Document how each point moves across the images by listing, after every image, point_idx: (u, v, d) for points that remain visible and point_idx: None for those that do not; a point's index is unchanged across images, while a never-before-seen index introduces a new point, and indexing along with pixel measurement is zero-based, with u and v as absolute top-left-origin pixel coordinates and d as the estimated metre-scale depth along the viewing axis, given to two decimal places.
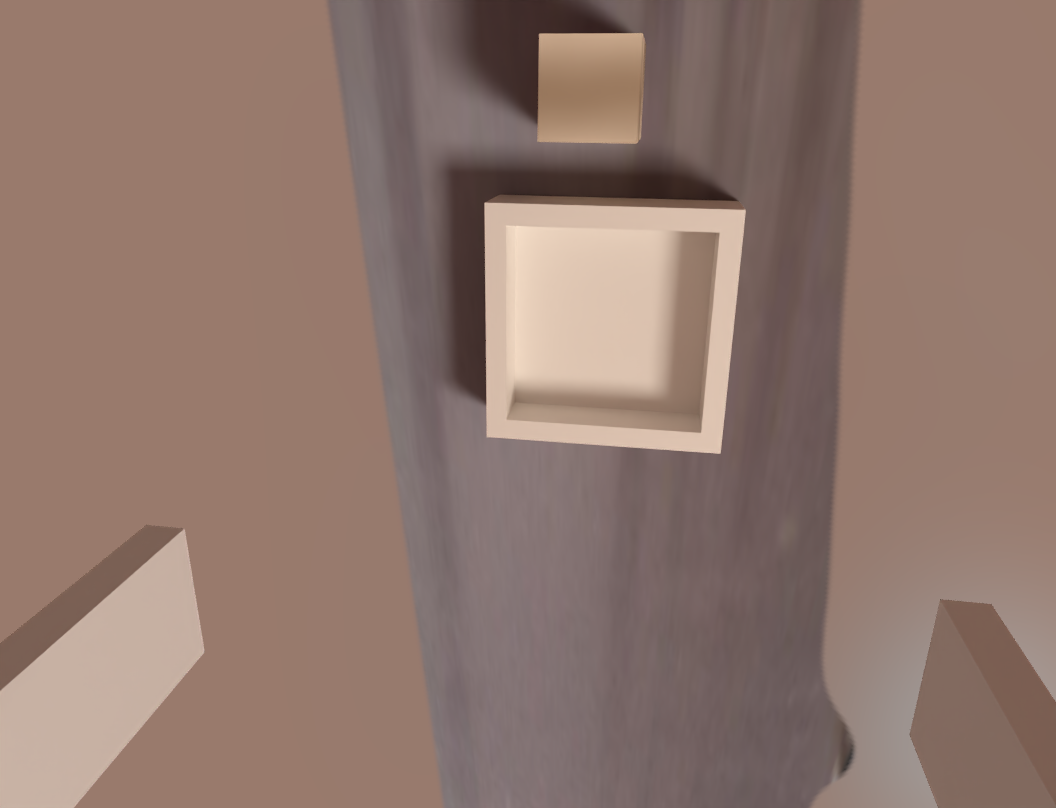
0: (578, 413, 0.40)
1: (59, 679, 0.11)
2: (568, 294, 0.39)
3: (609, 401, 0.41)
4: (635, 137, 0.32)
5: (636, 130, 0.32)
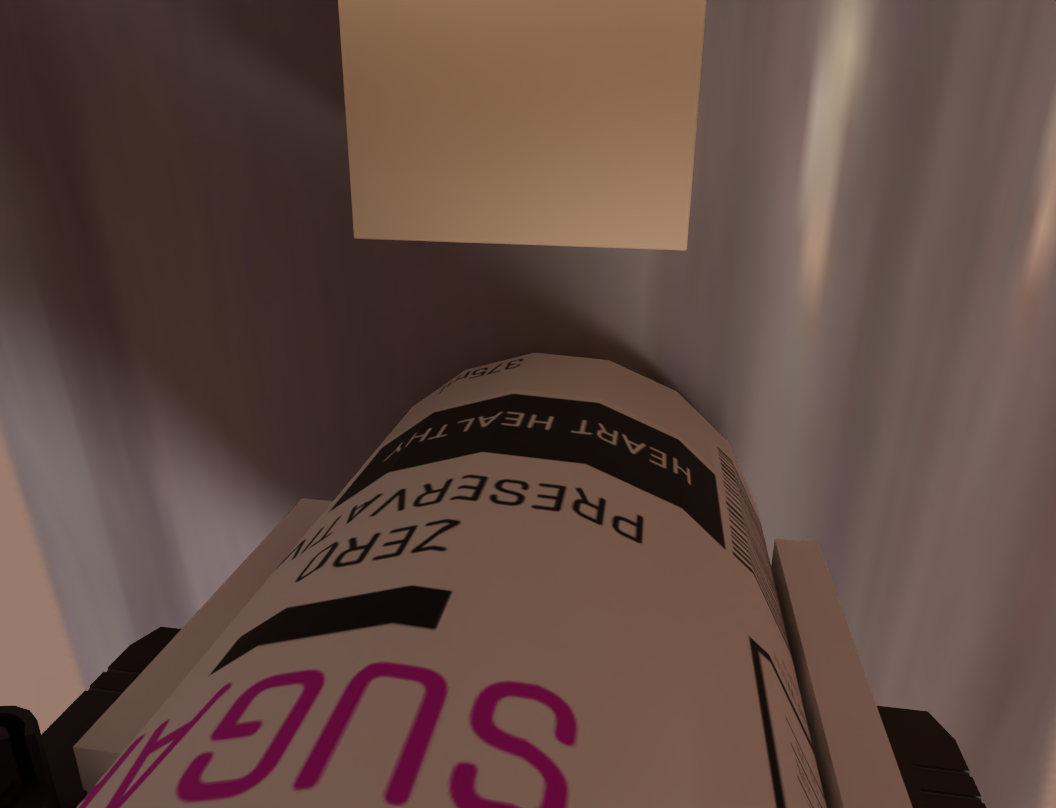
0: None
1: None
2: None
3: None
4: None
5: None
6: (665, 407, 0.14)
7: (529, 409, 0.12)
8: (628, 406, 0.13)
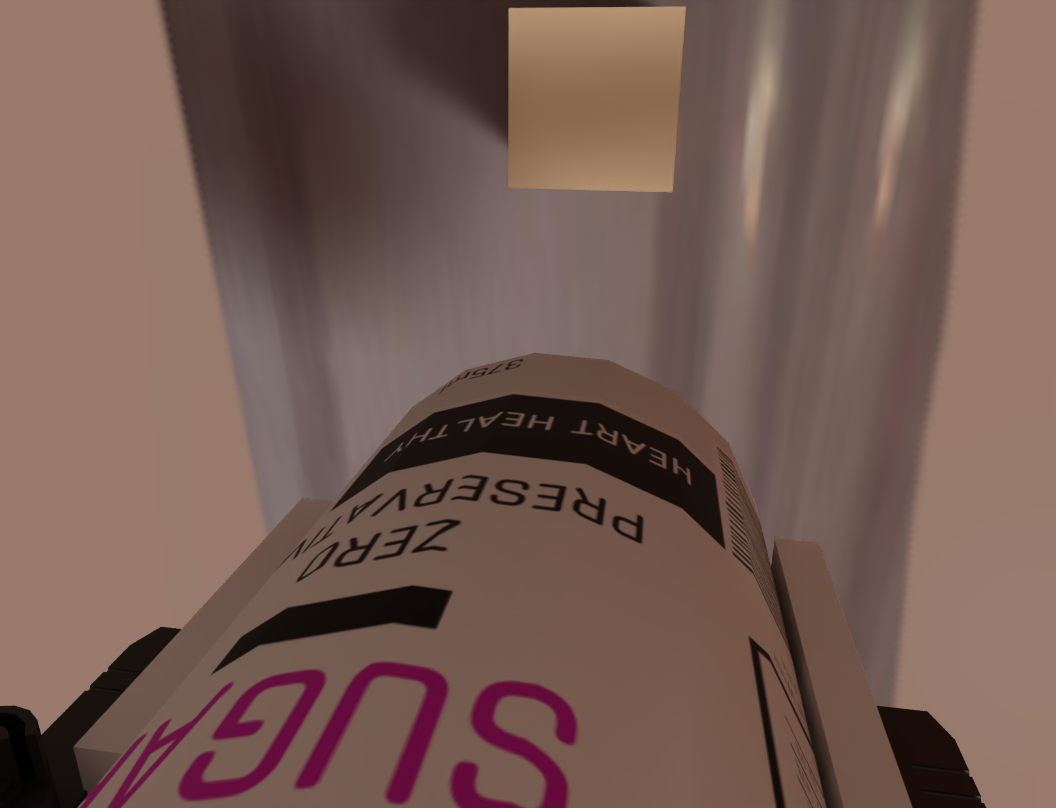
0: None
1: None
2: None
3: None
4: None
5: None
6: (665, 407, 0.14)
7: (530, 410, 0.13)
8: (627, 406, 0.13)
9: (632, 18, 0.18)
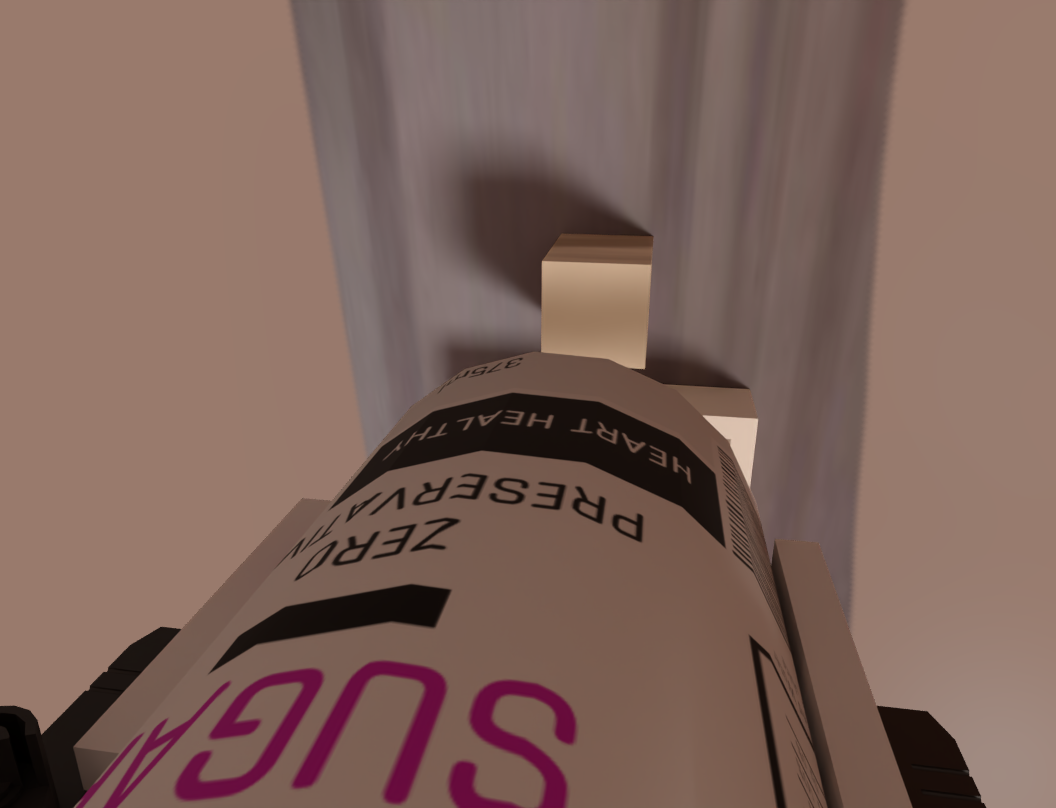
0: None
1: None
2: None
3: None
4: (643, 363, 0.30)
5: (644, 356, 0.30)
6: (665, 406, 0.14)
7: (529, 408, 0.12)
8: (628, 405, 0.13)
9: None
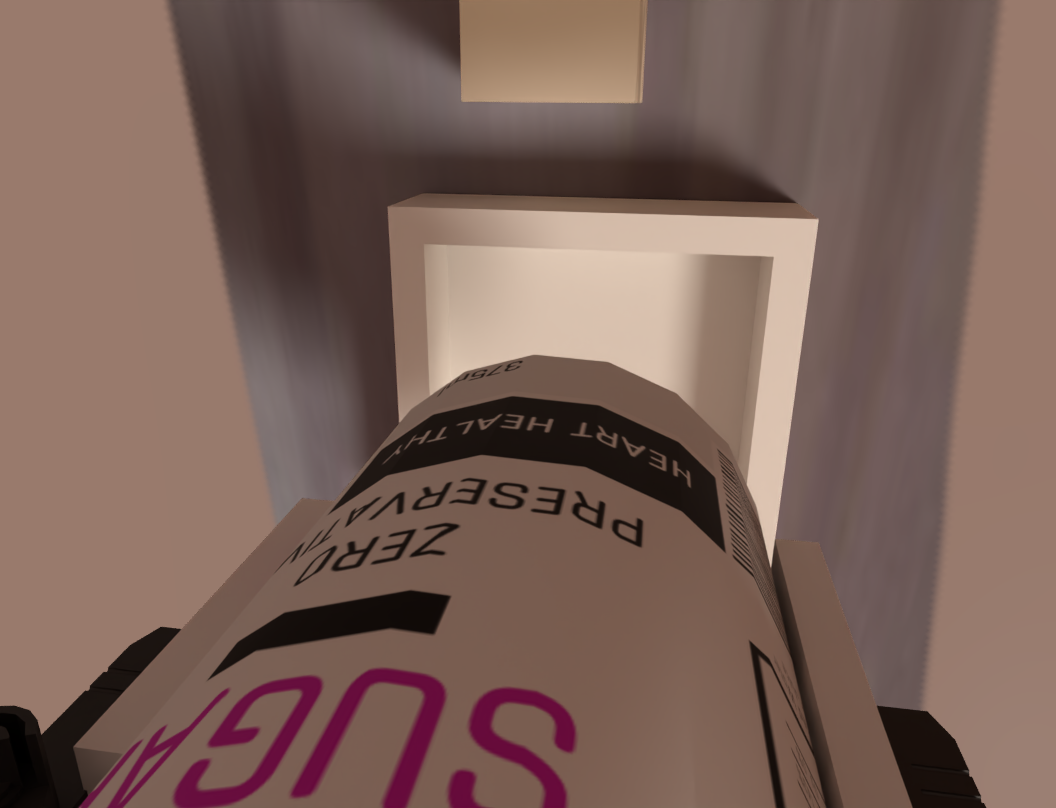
0: None
1: None
2: (530, 347, 0.25)
3: None
4: (633, 92, 0.18)
5: (634, 79, 0.18)
6: (665, 409, 0.14)
7: (529, 412, 0.12)
8: (628, 408, 0.13)
9: None
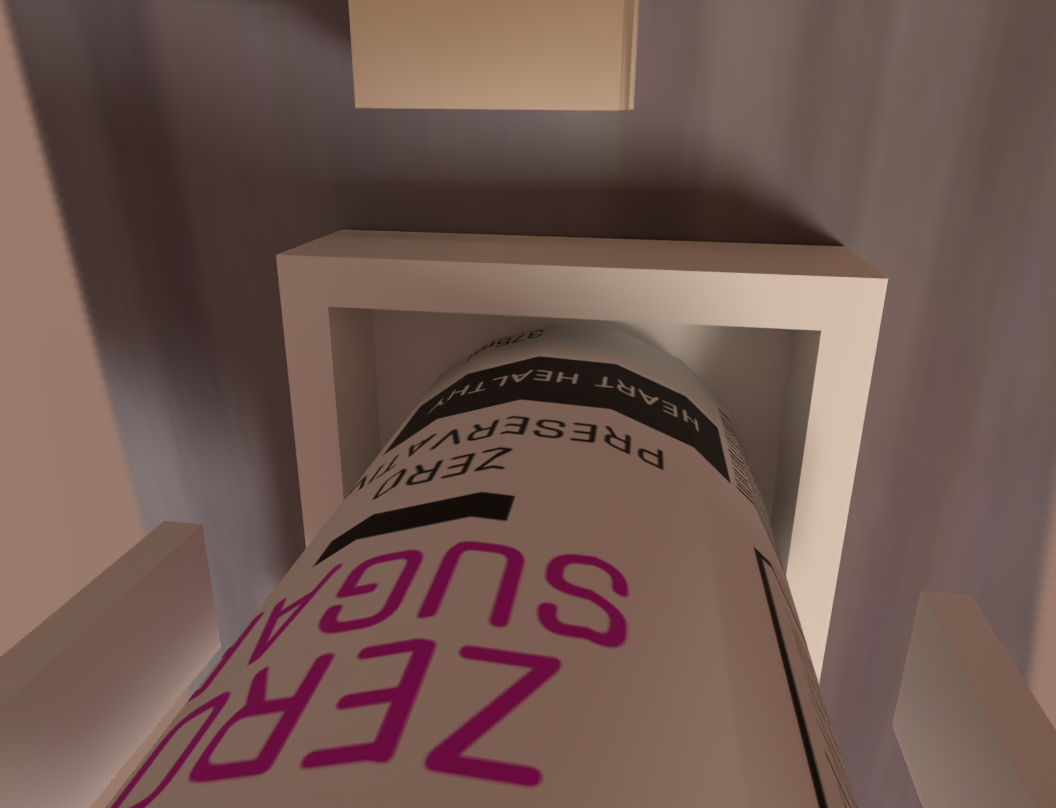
0: None
1: (83, 672, 0.12)
2: None
3: None
4: (615, 93, 0.11)
5: (618, 73, 0.11)
6: (672, 371, 0.16)
7: (556, 368, 0.14)
8: (641, 368, 0.15)
9: None
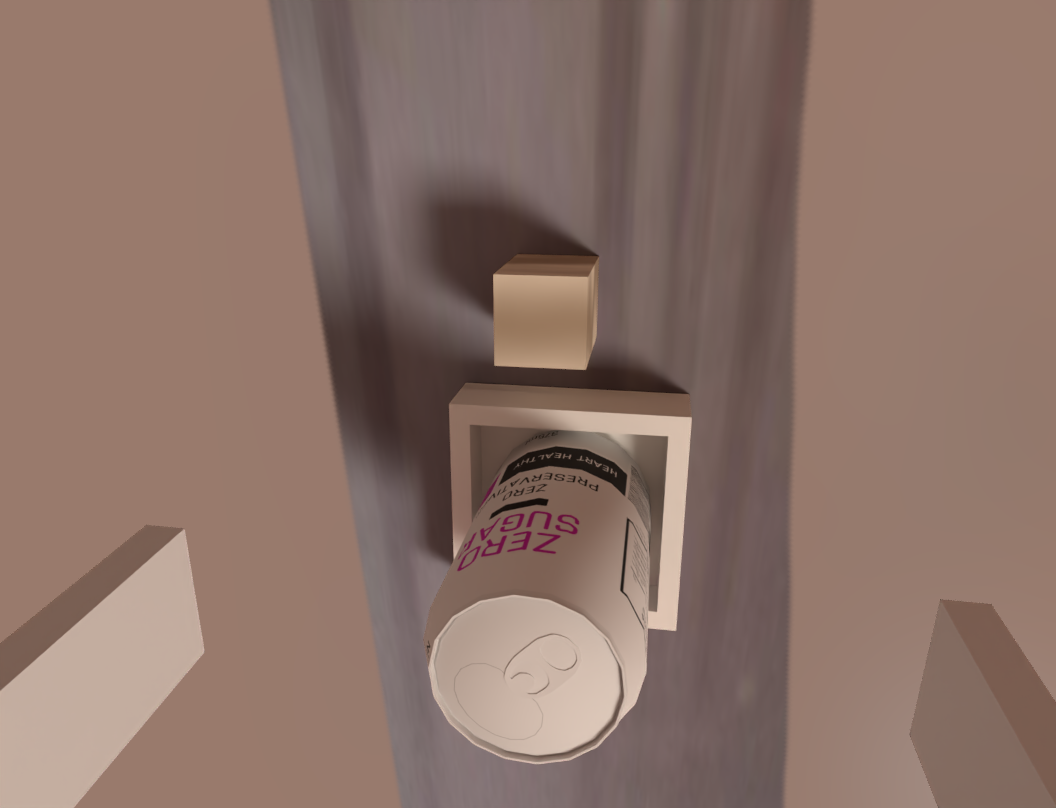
0: None
1: (60, 679, 0.11)
2: None
3: None
4: (584, 364, 0.34)
5: (585, 358, 0.34)
6: (611, 450, 0.38)
7: (562, 452, 0.37)
8: (596, 450, 0.38)
9: None
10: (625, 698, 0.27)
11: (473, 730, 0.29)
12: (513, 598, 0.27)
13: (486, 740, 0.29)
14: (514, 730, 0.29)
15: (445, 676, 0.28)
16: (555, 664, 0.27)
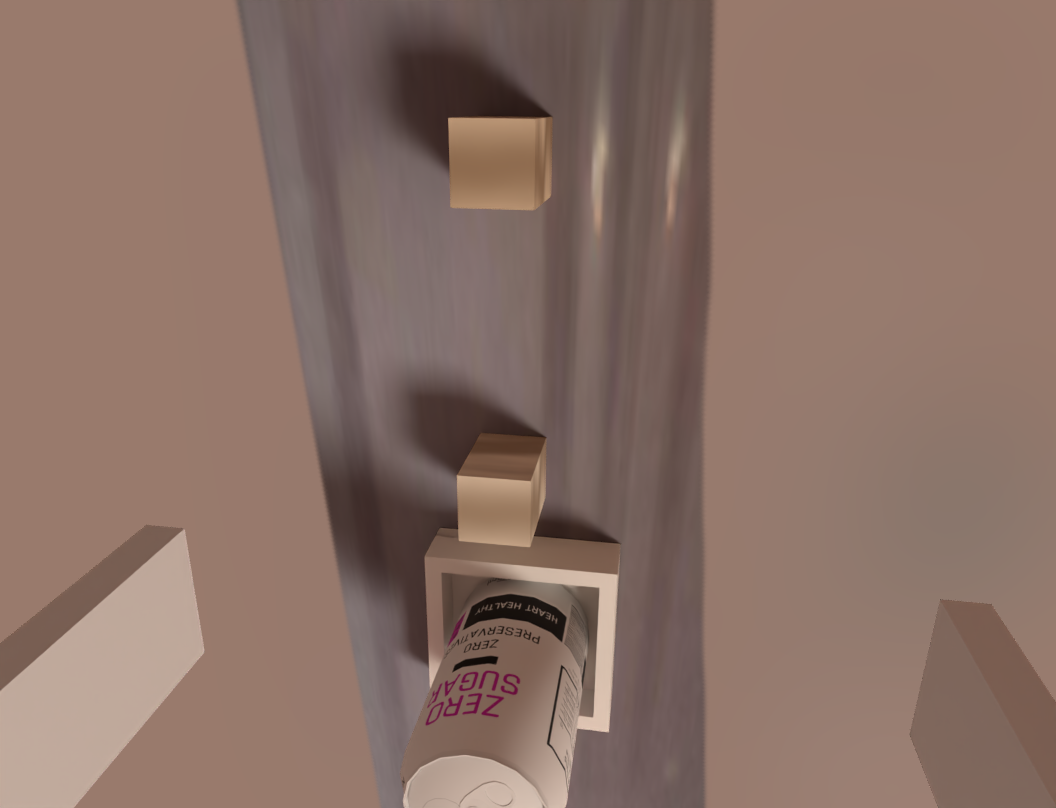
0: None
1: (59, 679, 0.11)
2: None
3: None
4: (529, 543, 0.43)
5: (529, 539, 0.43)
6: (555, 594, 0.48)
7: (514, 601, 0.46)
8: (543, 596, 0.47)
9: (509, 124, 0.36)
10: None
11: None
12: (465, 755, 0.36)
13: None
14: None
15: (416, 805, 0.38)
16: (496, 801, 0.37)
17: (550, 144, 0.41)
